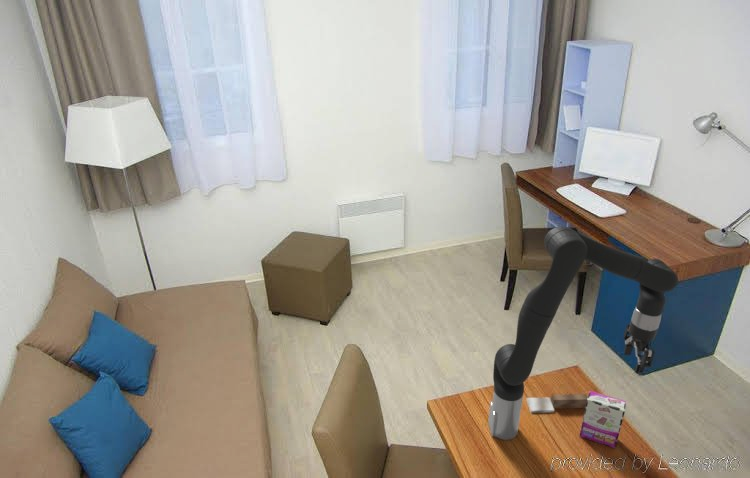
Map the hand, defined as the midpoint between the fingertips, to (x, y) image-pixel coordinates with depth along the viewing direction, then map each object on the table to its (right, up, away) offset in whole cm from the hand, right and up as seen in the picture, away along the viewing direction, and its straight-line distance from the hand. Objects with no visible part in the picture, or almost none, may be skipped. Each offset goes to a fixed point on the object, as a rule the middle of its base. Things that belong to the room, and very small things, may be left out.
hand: (632, 363), depth 165 cm
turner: (-16, -19, +19) cm, 31 cm away
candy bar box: (-8, -26, +6) cm, 28 cm away
